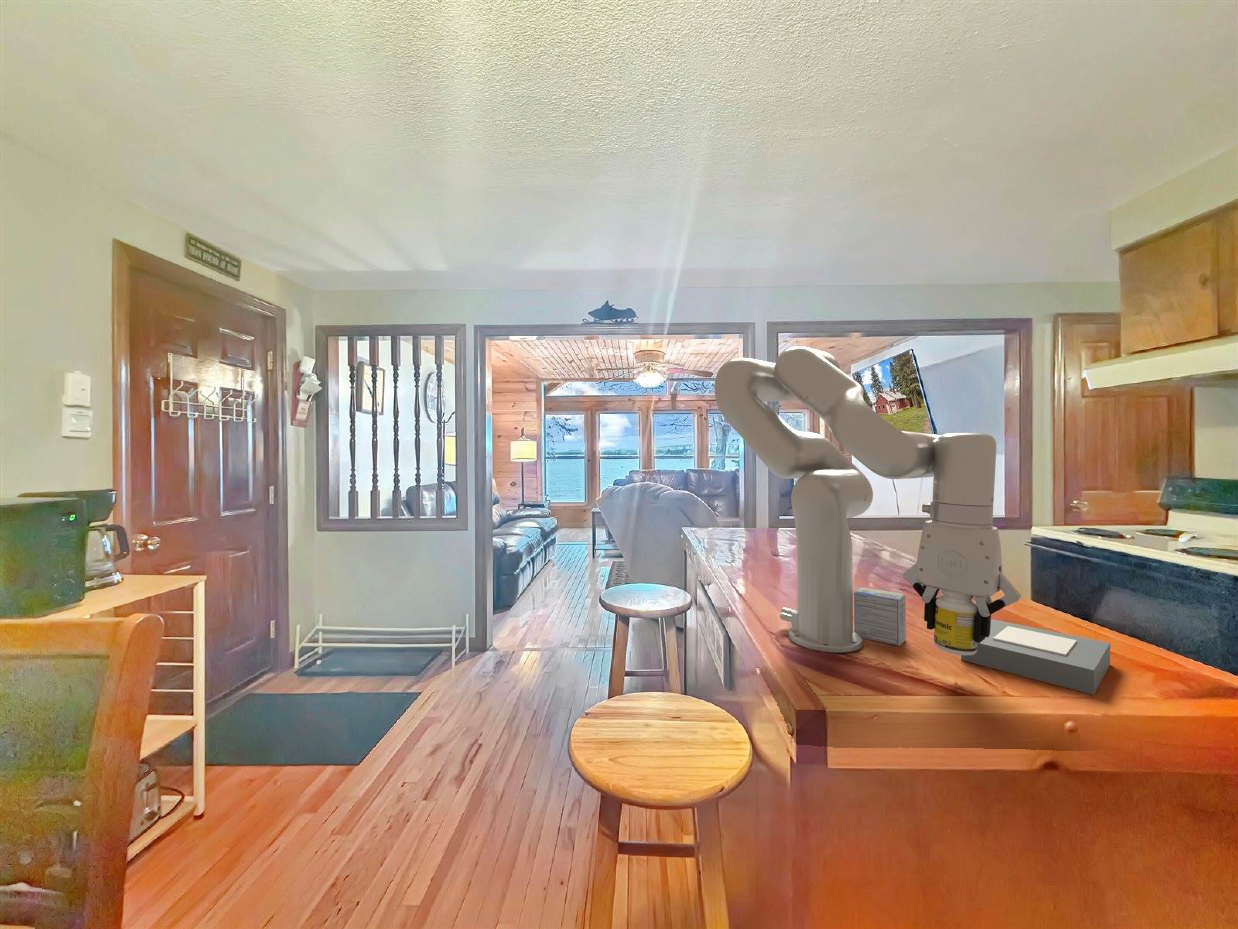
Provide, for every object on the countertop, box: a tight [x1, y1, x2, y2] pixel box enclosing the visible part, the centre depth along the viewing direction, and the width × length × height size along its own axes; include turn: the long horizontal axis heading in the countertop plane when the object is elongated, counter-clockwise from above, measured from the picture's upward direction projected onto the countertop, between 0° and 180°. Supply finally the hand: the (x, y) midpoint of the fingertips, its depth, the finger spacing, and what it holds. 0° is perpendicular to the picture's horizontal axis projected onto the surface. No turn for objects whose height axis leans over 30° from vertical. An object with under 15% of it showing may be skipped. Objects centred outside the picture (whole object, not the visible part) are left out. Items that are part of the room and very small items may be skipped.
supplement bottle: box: [933, 589, 978, 656], centre depth 74 cm, size 5×5×10 cm
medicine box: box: [853, 587, 907, 647], centre depth 91 cm, size 8×4×9 cm, turn 47°
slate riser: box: [960, 618, 1111, 696], centre depth 80 cm, size 16×16×4 cm
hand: (955, 632), depth 74 cm, fingers closed on supplement bottle, 5 cm apart
